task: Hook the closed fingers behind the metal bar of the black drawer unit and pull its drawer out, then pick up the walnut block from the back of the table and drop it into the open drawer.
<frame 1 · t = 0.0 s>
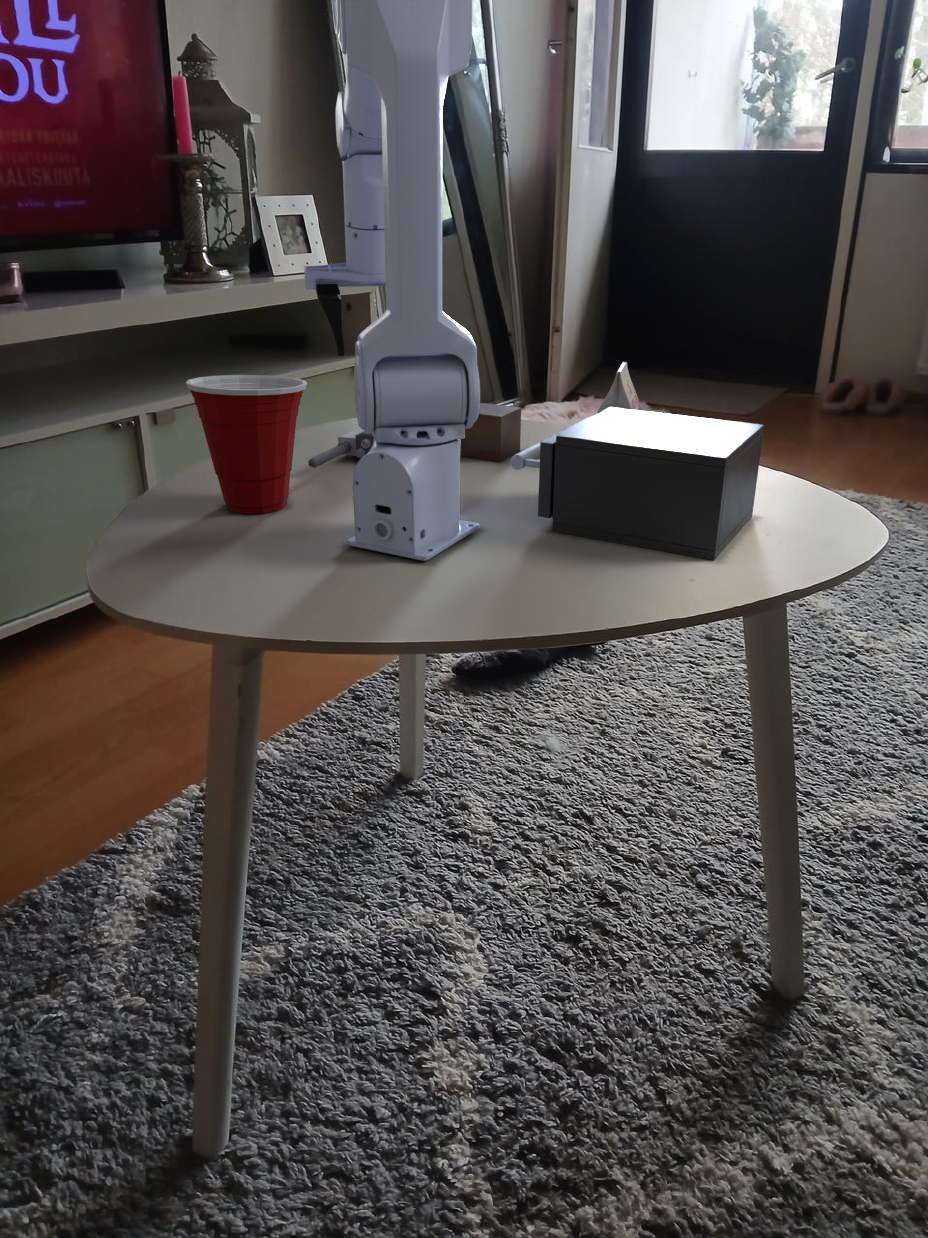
hand: (374, 351, 108), 11 cm above the table, tool pointing down, fingers open, 7 cm apart
cabinet: (654, 523, 88), on the table
plastic cup: (258, 506, 93), on the table
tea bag: (614, 460, 108), on the table
drawer: (611, 471, 88), point 4 cm above the table, slide at 0.5 cm
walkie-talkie: (382, 458, 108), on the table
block: (490, 453, 109), on the table
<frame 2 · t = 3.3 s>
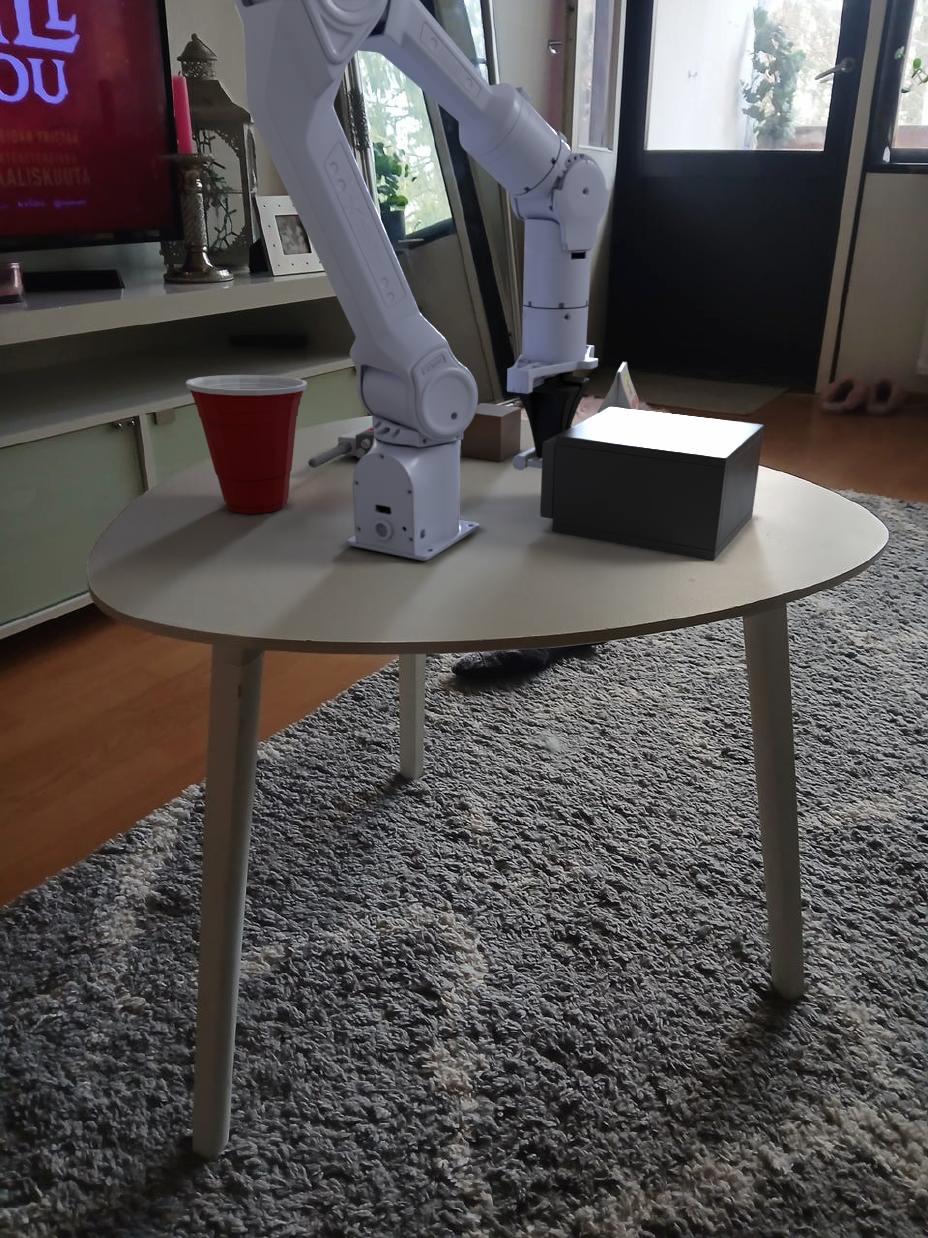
hand: (549, 456, 90), 5 cm above the table, tool pointing down, fingers closed, pressing on drawer
drawer: (614, 471, 88), point 4 cm above the table, slide at 0.3 cm, touching gripper
everything else where it was.
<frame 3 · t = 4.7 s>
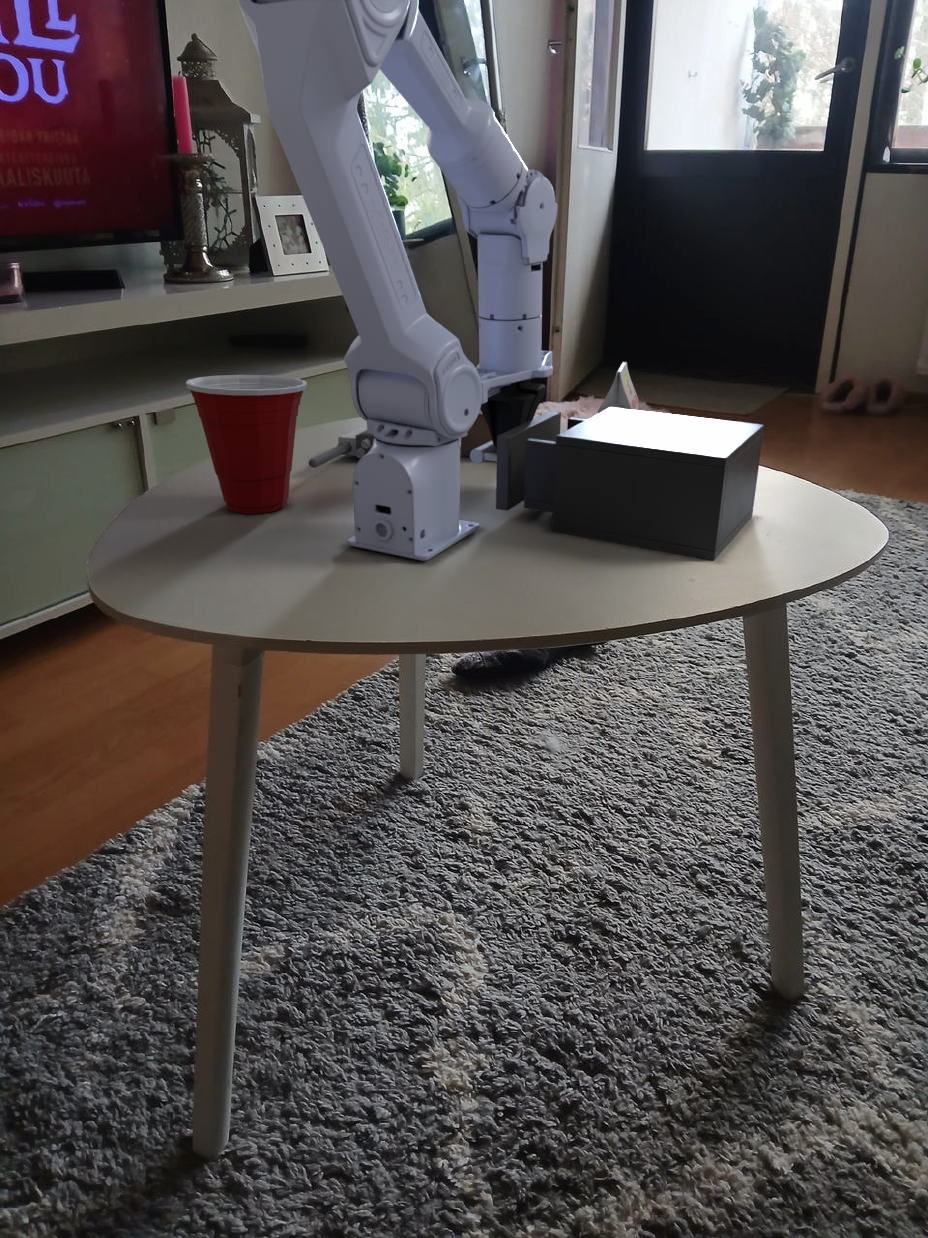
hand: (510, 461, 93), 4 cm above the table, tool pointing down, fingers closed, pressing on drawer
drawer: (569, 464, 90), point 4 cm above the table, slide at 4.7 cm, touching gripper
everything else where it was.
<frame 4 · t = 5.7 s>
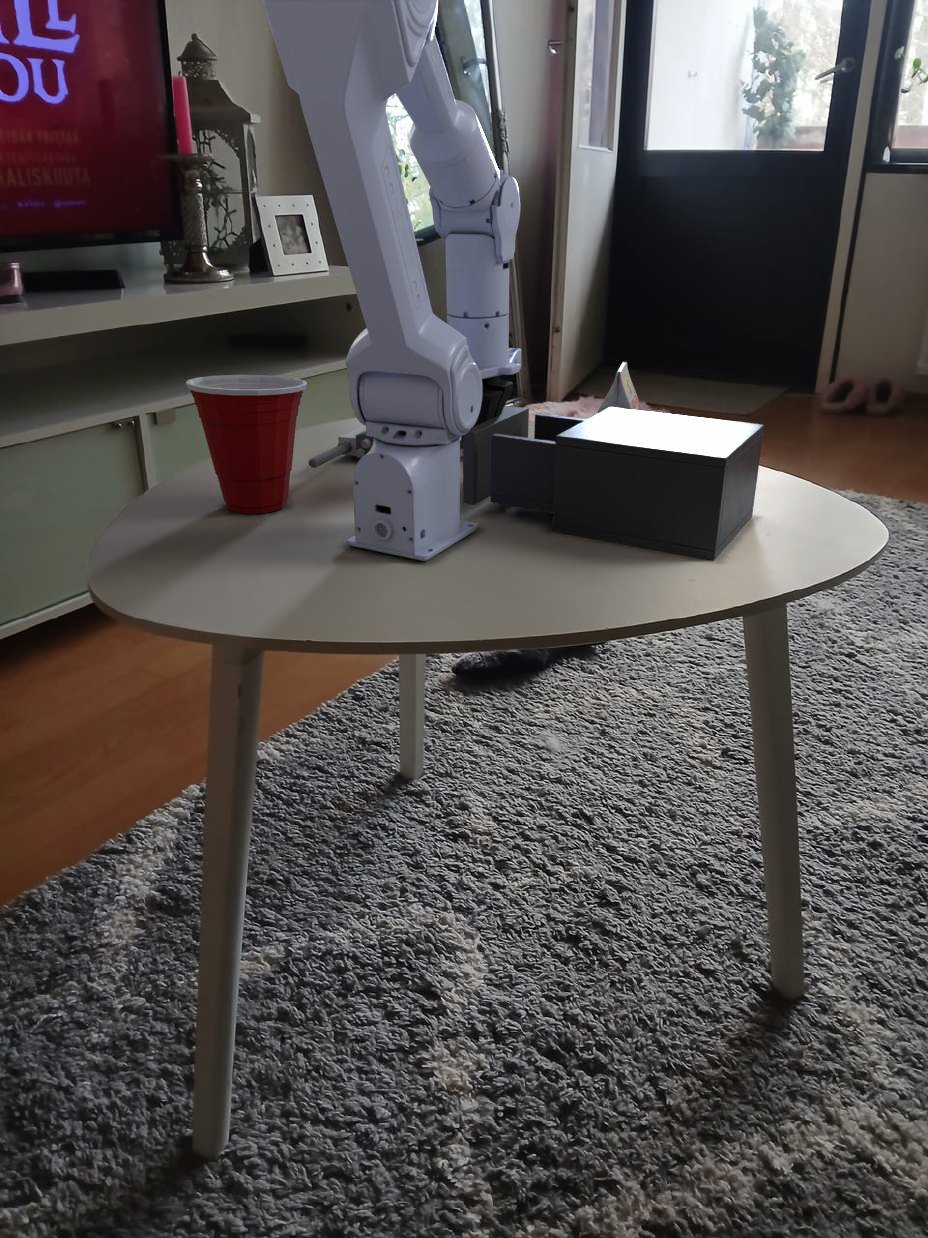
hand: (478, 456, 95), 4 cm above the table, tool pointing down, fingers closed, pressing on drawer
drawer: (535, 459, 91), point 4 cm above the table, slide at 8.2 cm, touching gripper
everything else where it was.
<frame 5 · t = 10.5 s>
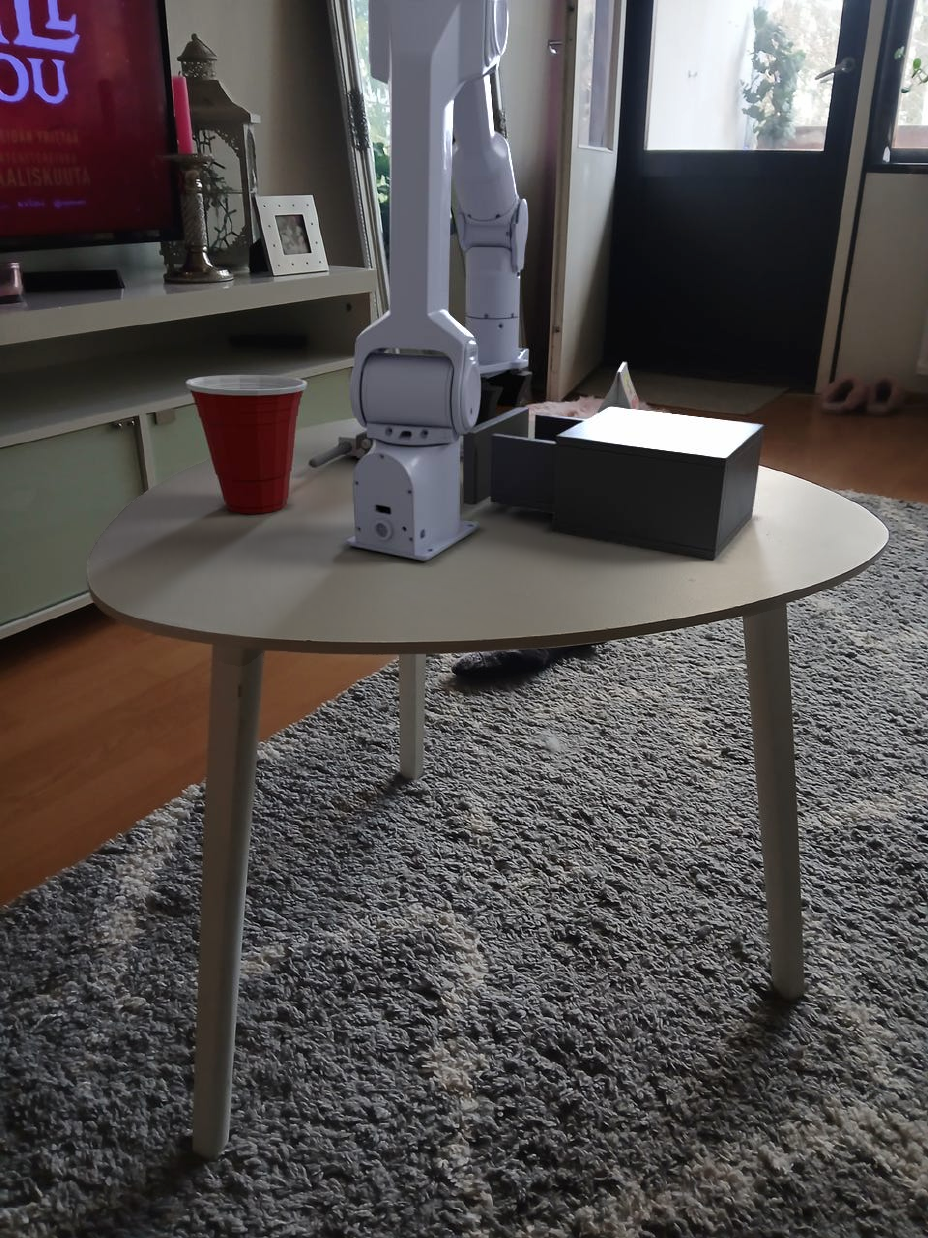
hand: (490, 441, 109), 1 cm above the table, tool pointing down, fingers closed on block, 5 cm apart
drawer: (535, 459, 91), point 4 cm above the table, slide at 8.2 cm
block: (490, 453, 109), on the table, touching gripper
everything else where it was.
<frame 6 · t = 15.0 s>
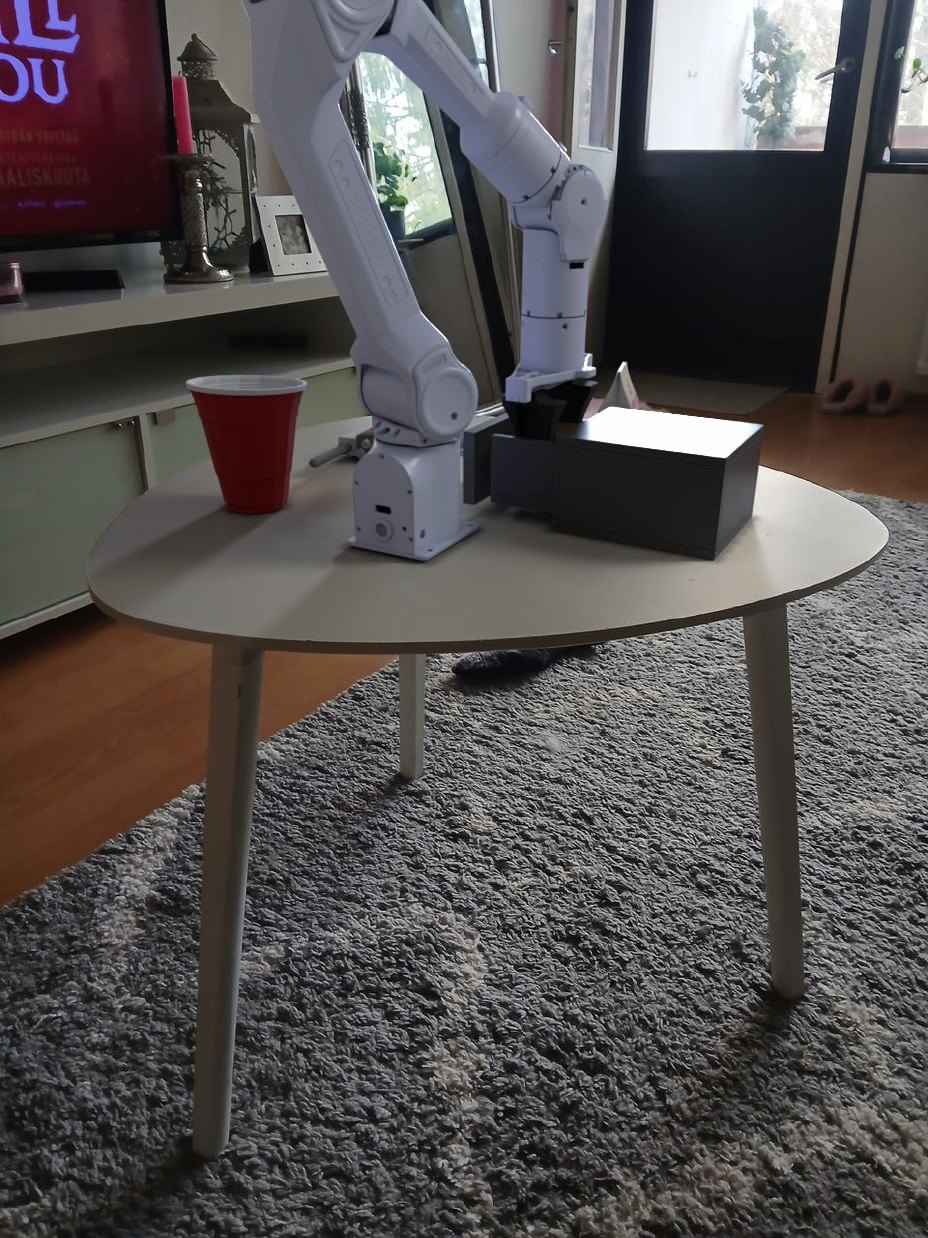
hand: (548, 465, 91), 4 cm above the table, tool pointing down, fingers closed on block, 5 cm apart
drawer: (535, 459, 91), point 4 cm above the table, slide at 8.2 cm, touching gripper
block: (548, 479, 91), point 3 cm above the table, touching gripper
everything else where it was.
when the fingers open (5 cm above the table, at t = 24.2 s): block stays where it is, resting on drawer.
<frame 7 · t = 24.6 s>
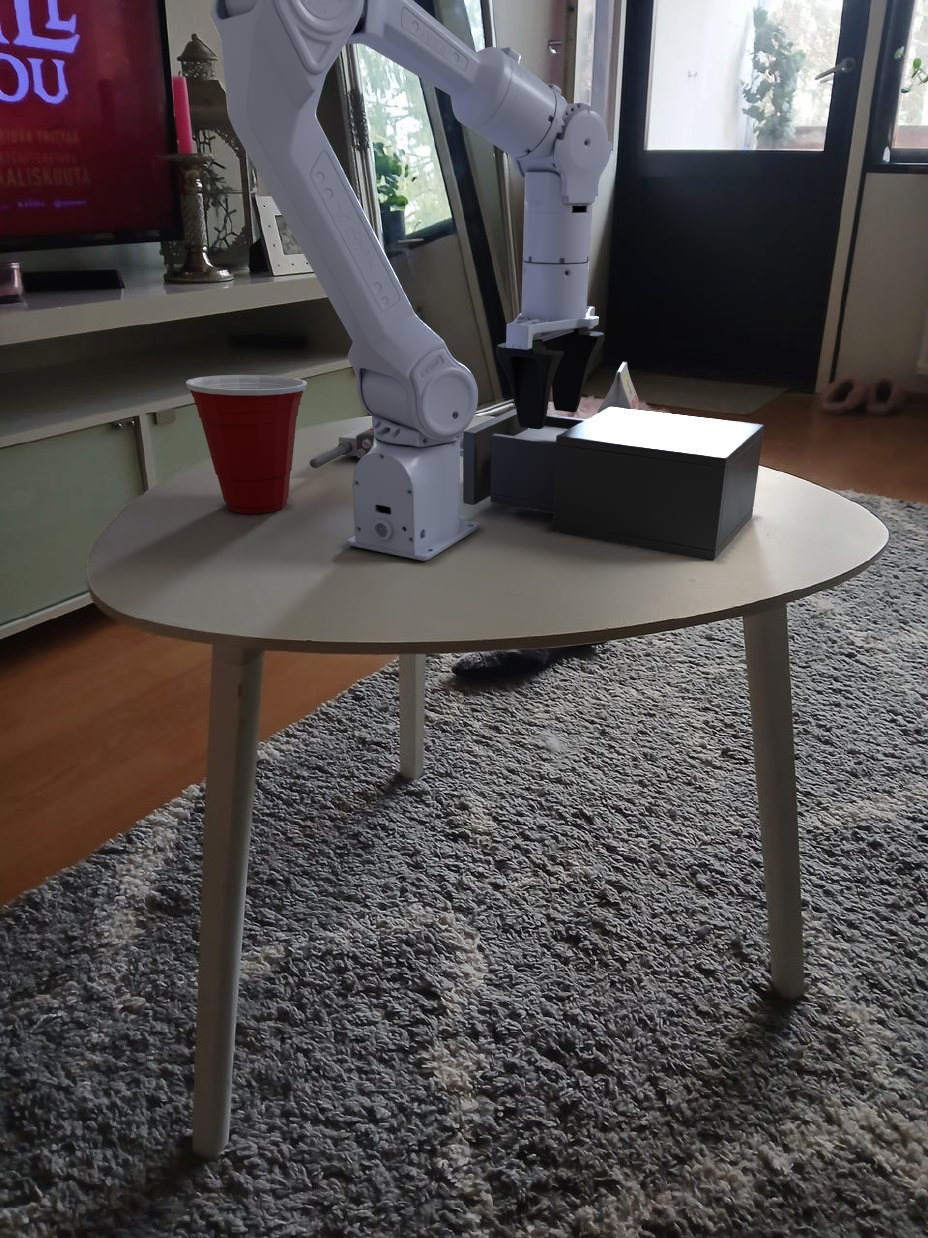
hand: (549, 418, 89), 8 cm above the table, tool pointing down, fingers open, 7 cm apart
drawer: (535, 459, 91), point 4 cm above the table, slide at 8.2 cm, touching block
block: (547, 485, 91), point 2 cm above the table, touching drawer
everything else where it was.
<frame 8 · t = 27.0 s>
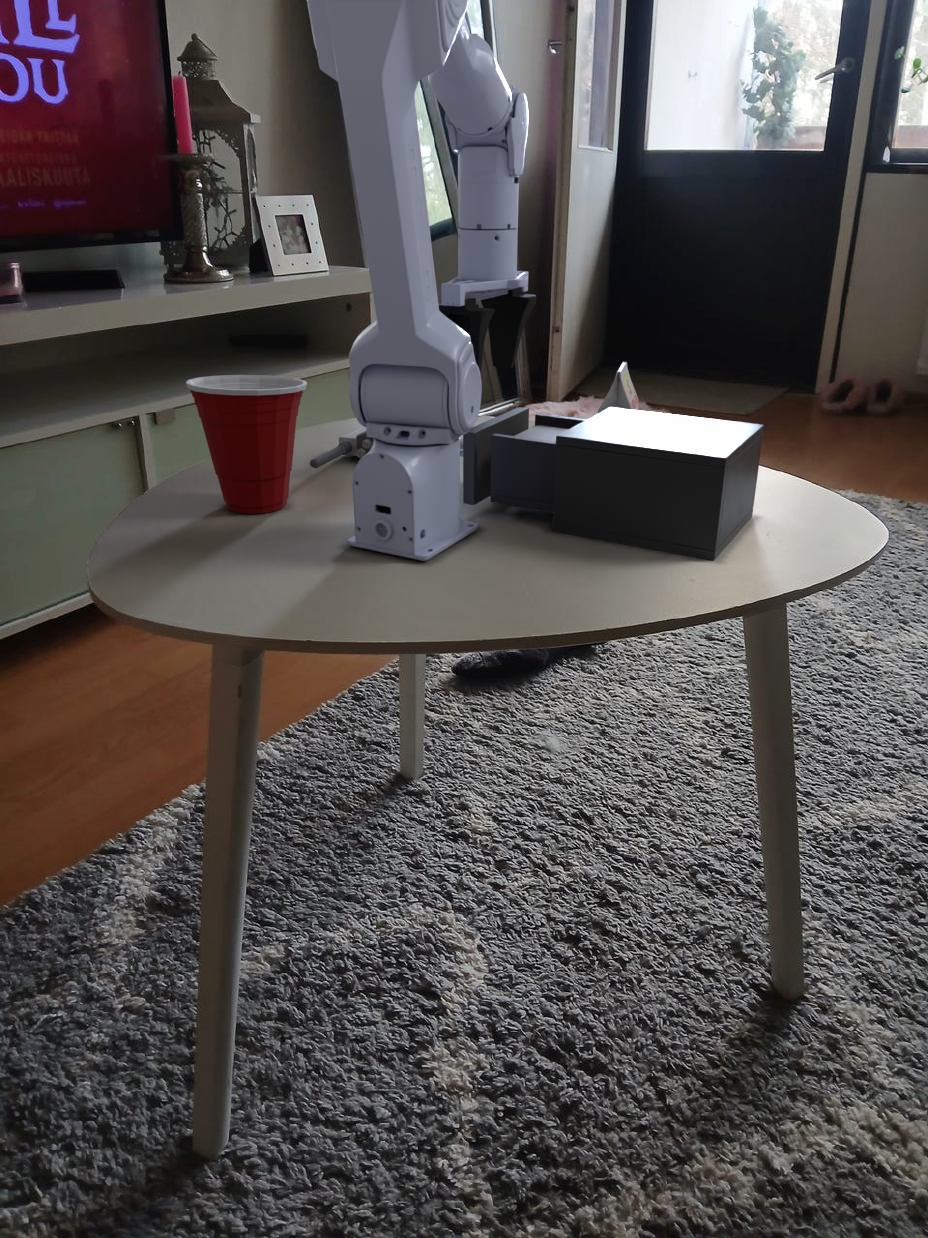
hand: (486, 372, 98), 10 cm above the table, tool pointing down, fingers open, 7 cm apart
nothing on the table moved.
at the end: drawer slide at 8.2 cm; block inside the target area in the drawer (0.4 cm from its centre), point 2.0 cm above the cabinet's base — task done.
